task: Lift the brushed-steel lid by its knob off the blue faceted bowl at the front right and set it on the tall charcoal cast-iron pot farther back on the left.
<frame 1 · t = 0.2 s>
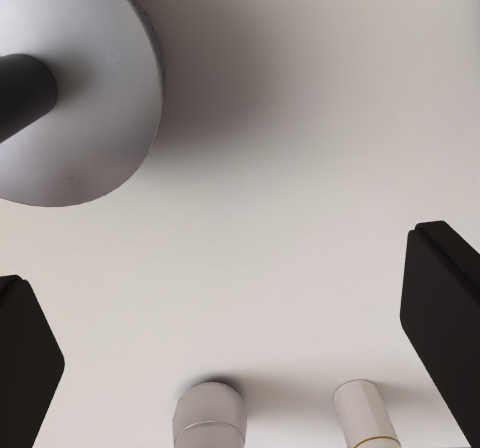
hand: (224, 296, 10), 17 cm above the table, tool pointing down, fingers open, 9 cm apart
tube: (354, 393, 39), on the table
silver metal bottle: (210, 394, 38), on the table
blue faceted bowl: (67, 68, 23), on the table
lid: (30, 84, 19), point 5 cm above the table, touching blue faceted bowl
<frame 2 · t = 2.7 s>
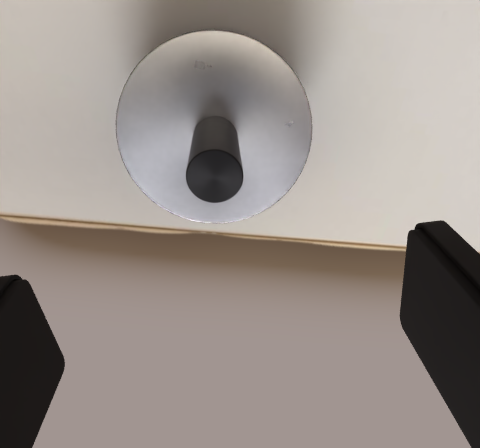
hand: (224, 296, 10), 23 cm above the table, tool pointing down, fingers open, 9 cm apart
lid: (215, 135, 26), point 5 cm above the table, touching blue faceted bowl
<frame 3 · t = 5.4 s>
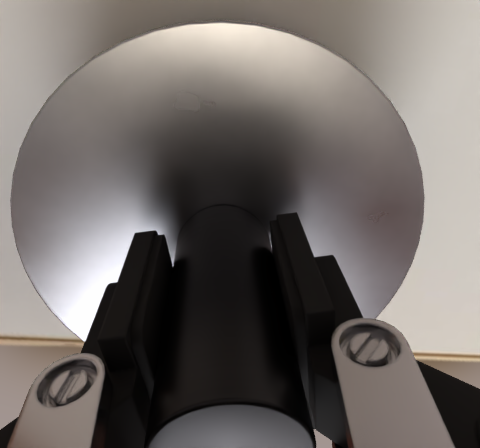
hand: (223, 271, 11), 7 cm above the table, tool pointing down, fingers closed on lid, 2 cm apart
lid: (223, 237, 13), point 5 cm above the table, touching gripper, blue faceted bowl
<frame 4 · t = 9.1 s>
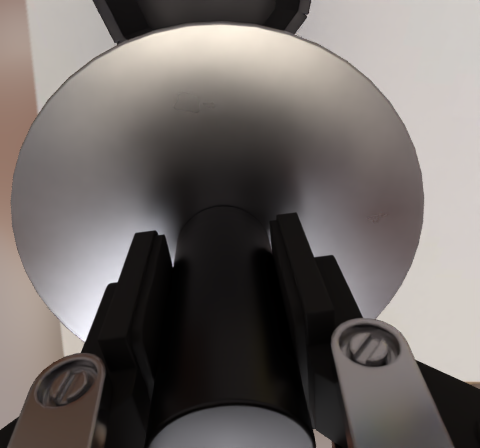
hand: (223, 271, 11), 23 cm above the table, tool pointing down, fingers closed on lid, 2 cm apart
lid: (223, 238, 13), point 21 cm above the table, touching gripper
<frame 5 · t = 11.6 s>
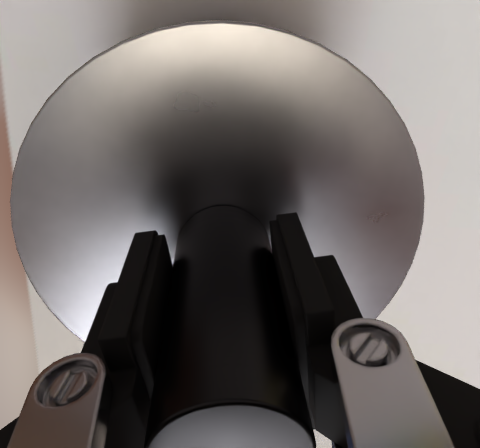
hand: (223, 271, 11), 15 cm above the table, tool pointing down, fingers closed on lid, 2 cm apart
lid: (223, 238, 13), point 13 cm above the table, touching gripper
when the fingers open (11 cm above the table, at t = 13.2 s): lid stays where it is, resting on pot.
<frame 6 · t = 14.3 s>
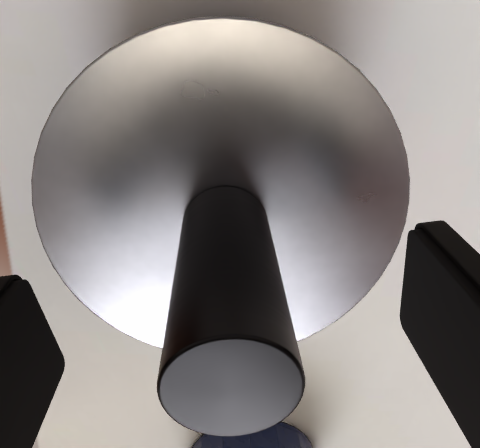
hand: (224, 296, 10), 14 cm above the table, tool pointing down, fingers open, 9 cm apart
lid: (225, 217, 14), point 9 cm above the table, touching pot
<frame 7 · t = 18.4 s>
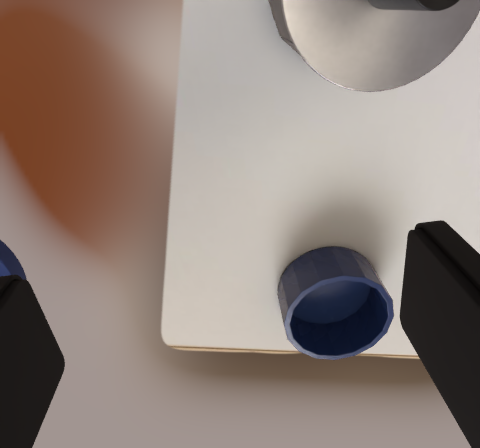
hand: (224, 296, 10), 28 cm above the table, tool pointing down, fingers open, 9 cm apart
blue faceted bowl: (326, 288, 46), on the table
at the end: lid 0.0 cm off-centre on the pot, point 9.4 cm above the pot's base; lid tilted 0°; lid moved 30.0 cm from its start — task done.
